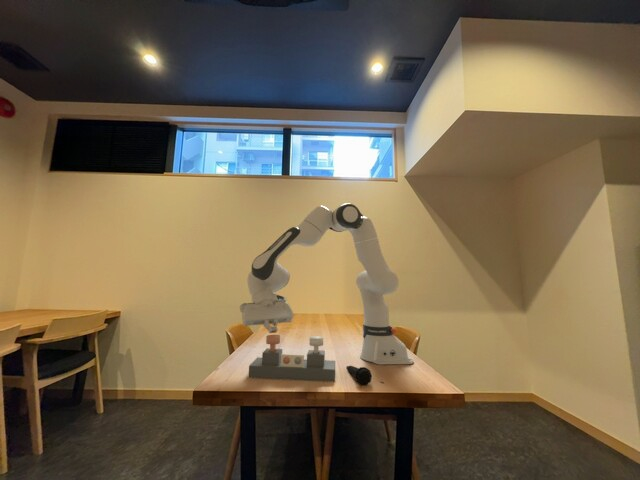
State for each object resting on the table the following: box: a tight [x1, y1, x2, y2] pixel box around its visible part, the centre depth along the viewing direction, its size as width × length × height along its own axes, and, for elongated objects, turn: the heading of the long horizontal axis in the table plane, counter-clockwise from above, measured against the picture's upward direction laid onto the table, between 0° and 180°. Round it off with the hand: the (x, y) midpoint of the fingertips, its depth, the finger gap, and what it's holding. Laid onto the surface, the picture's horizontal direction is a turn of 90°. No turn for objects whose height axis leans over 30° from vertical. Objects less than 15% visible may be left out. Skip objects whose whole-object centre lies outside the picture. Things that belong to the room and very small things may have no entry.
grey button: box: [309, 335, 324, 354], centre depth 100 cm, size 5×5×6 cm
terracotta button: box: [265, 334, 281, 352], centre depth 101 cm, size 5×5×6 cm
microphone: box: [346, 365, 372, 386], centre depth 99 cm, size 6×6×20 cm
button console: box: [247, 347, 336, 383], centre depth 100 cm, size 30×10×8 cm, turn 86°
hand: (273, 332), depth 102 cm, fingers closed
